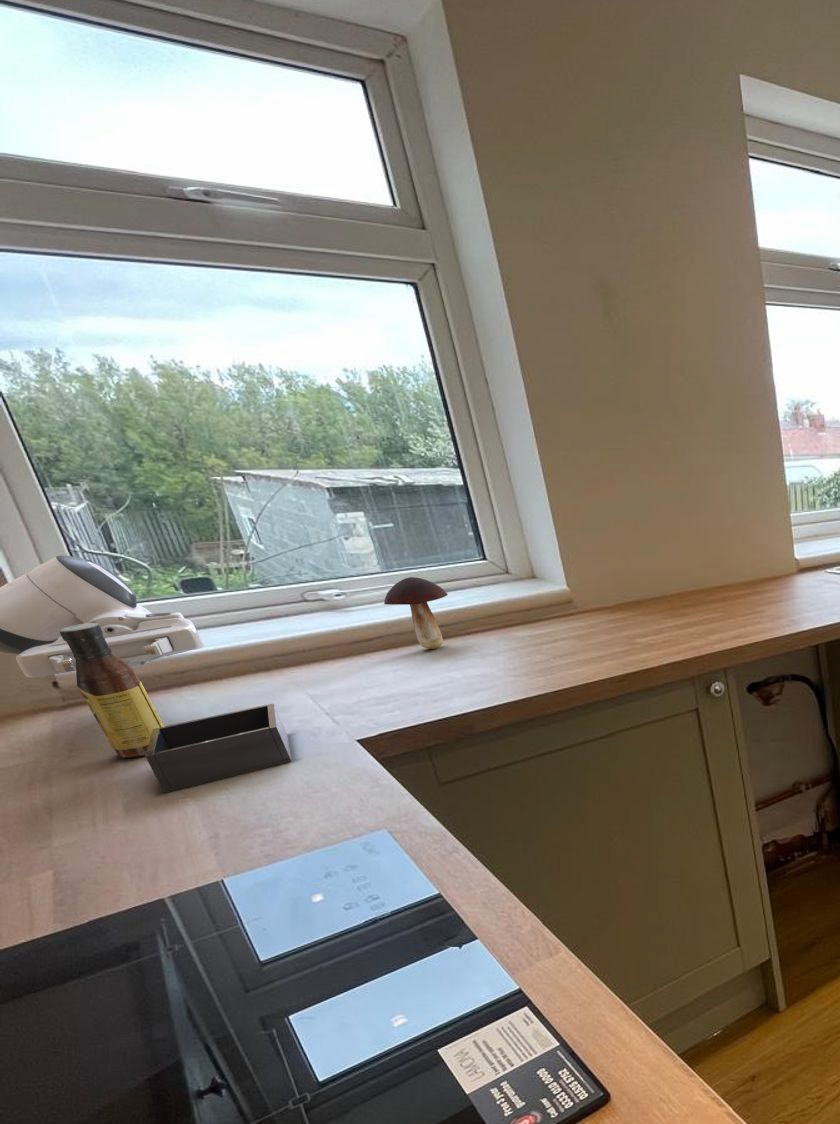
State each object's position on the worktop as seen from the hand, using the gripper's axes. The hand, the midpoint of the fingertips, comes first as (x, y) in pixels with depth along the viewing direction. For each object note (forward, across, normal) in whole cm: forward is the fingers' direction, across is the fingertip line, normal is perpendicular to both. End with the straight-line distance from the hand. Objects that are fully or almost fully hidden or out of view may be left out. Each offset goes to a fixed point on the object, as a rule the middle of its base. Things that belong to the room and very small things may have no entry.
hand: (110, 659), depth 123 cm
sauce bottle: (+7, 0, +13) cm, 15 cm away
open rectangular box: (+23, +10, +13) cm, 28 cm away
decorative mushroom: (-23, +42, +14) cm, 50 cm away
